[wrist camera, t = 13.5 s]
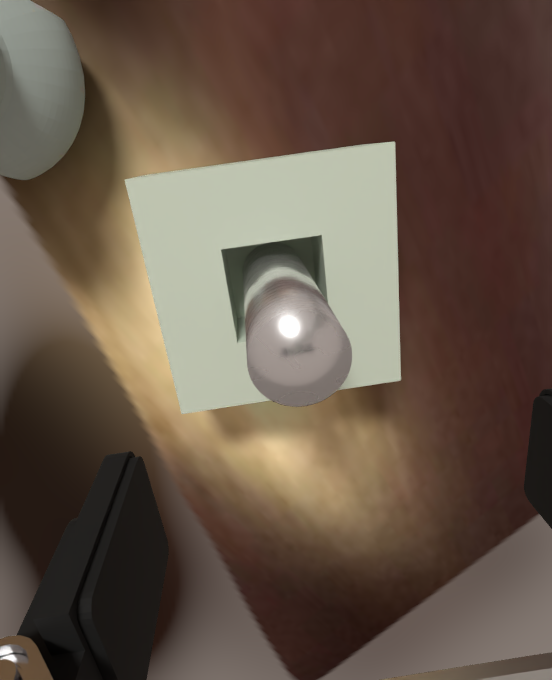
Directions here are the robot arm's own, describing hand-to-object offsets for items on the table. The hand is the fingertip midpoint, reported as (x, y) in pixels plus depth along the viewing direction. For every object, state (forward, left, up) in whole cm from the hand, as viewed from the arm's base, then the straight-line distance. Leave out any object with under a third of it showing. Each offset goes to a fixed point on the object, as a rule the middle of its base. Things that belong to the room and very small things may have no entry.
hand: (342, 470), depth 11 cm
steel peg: (0, 0, -21) cm, 21 cm away
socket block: (0, 0, -22) cm, 22 cm away
